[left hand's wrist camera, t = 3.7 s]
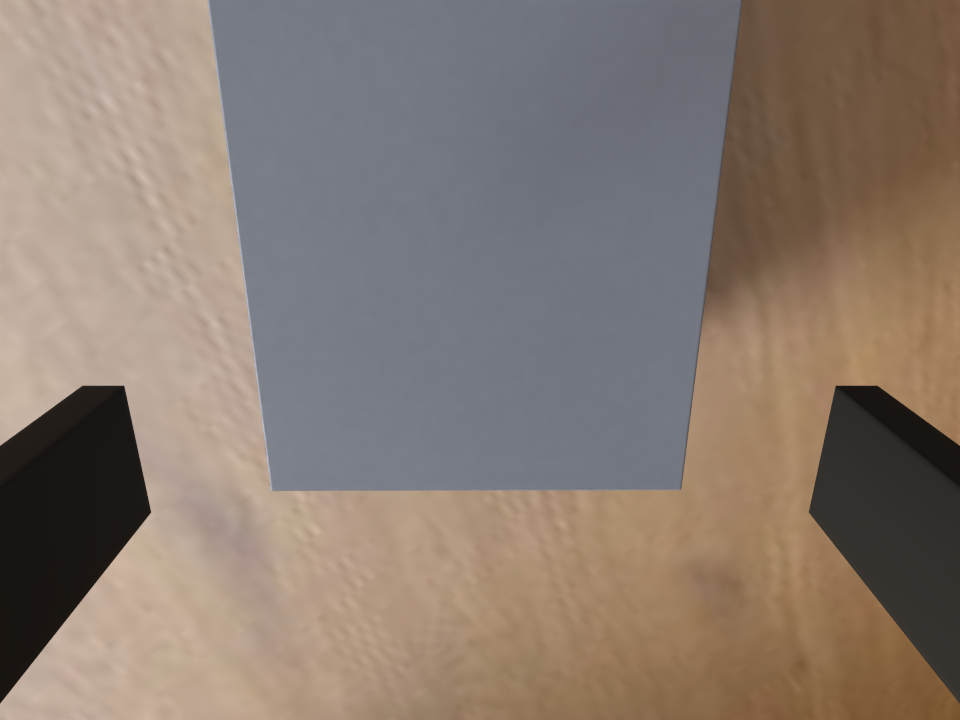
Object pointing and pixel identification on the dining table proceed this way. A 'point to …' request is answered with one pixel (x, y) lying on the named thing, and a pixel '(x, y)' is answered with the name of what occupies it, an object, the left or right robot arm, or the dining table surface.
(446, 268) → the cabinet
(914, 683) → the dining table surface
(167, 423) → the dining table surface
